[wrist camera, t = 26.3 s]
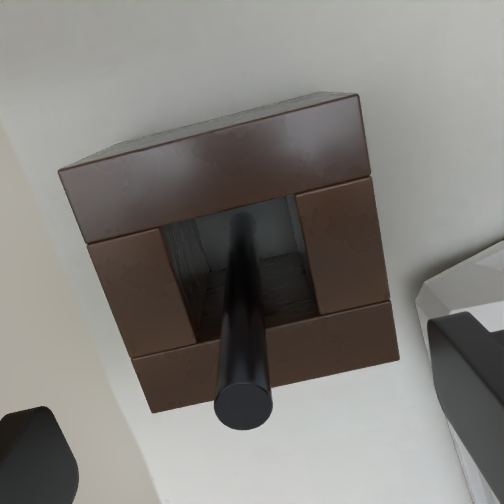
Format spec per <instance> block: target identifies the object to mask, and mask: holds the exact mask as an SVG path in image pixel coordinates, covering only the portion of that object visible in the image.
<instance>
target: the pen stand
mask: <svg viewBox="0 0 504 504" xmlns="http://www.w3.org/2000/svg"><path fill="white" fill-rule="evenodd" d="M370 174H371V168H370V162H369V155H368V149H367V142H366V136H365V129H364V123H363V116H362V110H361V103H360V97H359V95H358V94H355V93H335V92H317V93H313V94H310V95H306V96H302V97H298V98H294V99H290V100H286V101H282V102H278V103H274V104H271V105H267V106H263V107H259V108H255V109H251V110H247V111H243V112H239V113H235V114H232V115H228V116H224V117H220V118H216V119H212V120H208V121H204V122H200V123H196V124H193V125H189V126H185V127H181V128H177V129H173V130H169V131H165V132H161V133H158V134H154V135H150V136H146V137H142V138H138V139H134V140H130V141H126V142H122V143H119V144H115V145H113V146H110V147H108V148H106V149H104V150H101V151H99V152H97V153H95V154H92V155H90V156H88V157H86V158H83V159H81V160H79V161H77V162H74V163H72V164H70V165H68V166H65V167H63V168H61V169H59V170H58V175H59V177H60V180H61V182H62V185H63V187H64V190H65V192H66V195H67V198H68V200H69V203H70V205H71V208H72V210H73V213H74V215H75V218H76V221H77V223H78V226H79V228H80V231H81V233H82V236H83V238H84V241H85V243H86V244H87V249H88V252H89V254H90V257H91V259H92V262H93V265H94V267H95V270H96V272H97V275H98V277H99V280H100V282H101V285H102V288H103V290H104V293H105V295H106V298H107V300H108V303H109V305H110V308H111V311H112V313H113V316H114V318H115V321H116V323H117V326H118V328H119V331H120V334H121V336H122V339H123V341H124V344H125V346H126V349H127V351H128V354H129V357H130V358H131V361H132V364H133V367H134V369H135V372H136V374H137V377H138V379H139V382H140V384H141V387H142V390H143V392H144V395H145V397H146V400H147V402H148V405H149V407H150V410H151V412H152V413H158V412H162V411H167V410H171V409H176V408H181V407H185V406H190V405H195V404H199V403H204V402H208V401H213V400H214V398H215V387H216V376H217V365H218V354H219V343H220V332H221V321H222V310H223V299H224V288H225V277H226V269H222V270H217V271H213V272H209V267H208V264H207V261H206V257H205V254H204V251H203V247H202V244H201V240H200V237H199V234H198V230H197V227H196V224H195V220H194V218H197V217H201V216H205V215H209V214H213V213H217V212H221V211H226V210H230V209H234V208H238V207H242V206H246V205H250V204H254V203H258V202H263V201H267V200H271V199H275V198H279V197H283V196H286V199H287V204H288V208H289V213H290V217H291V222H292V226H293V231H294V235H295V240H296V244H297V249H298V252H294V253H290V254H285V255H281V256H277V257H273V258H268V259H264V260H260V261H259V264H260V275H261V285H262V296H263V306H264V317H265V328H266V338H267V349H268V359H269V370H270V380H271V388H273V387H278V386H282V385H287V384H292V383H296V382H301V381H306V380H310V379H315V378H319V377H324V376H329V375H333V374H338V373H342V372H347V371H352V370H356V369H361V368H366V367H370V366H375V365H379V364H384V363H389V362H393V361H398V360H399V359H400V356H399V349H398V343H397V336H396V330H395V323H394V317H393V310H392V304H391V300H390V292H389V285H388V279H387V272H386V266H385V259H384V253H383V246H382V240H381V233H380V227H379V220H378V214H377V207H376V201H375V194H374V188H373V181H372V177H371V176H370Z"/></svg>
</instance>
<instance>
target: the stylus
mask: <svg viewBox="0 0 504 504" xmlns="http://www.w3.org/2000/svg"><path fill="white" fill-rule="evenodd" d="M272 408H273V401H272V391H271V380H270V370H269V359H268V349H267V338H266V328H265V317H264V306H263V296H262V285H261V275H260V264H259V254H258V243H257V233H256V223H255V220H254V219H253V217H252V216H250V215H249V214H246V213H240V214H237V215H236V216H234V217H233V219H232V220H231V223H230V233H229V244H228V255H227V266H226V277H225V288H224V299H223V310H222V321H221V332H220V343H219V354H218V365H217V376H216V387H215V398H214V410H215V413H216V415H217V417H218V419H219V420H220V421H221V422H222V423H223V424H224V425H226V426H228V427H230V428H232V429H236V430H250V429H254V428H256V427H259V426H260V425H262V424H263V423H264V422H265V421H266V420H267V419H268V418H269V416H270V414H271V412H272Z"/></svg>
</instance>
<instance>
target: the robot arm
mask: <svg viewBox="0 0 504 504" xmlns="http://www.w3.org/2000/svg"><path fill="white" fill-rule="evenodd" d="M427 334H428V341H429V349H430V356H431V364H432V371H433V379H434V385H435V390H436V394H437V397H438V400H439V403H440V405H441V407H442V410H443V412H444V414H445V415H446V417H447V419H448V420H449V422H450V424H451V425H452V427H453V428H454V430H455V432H456V433H457V435H458V436H459V438H460V440H461V441H462V443H463V445H464V446H465V448H466V449H467V451H468V453H469V454H470V456H471V457H472V459H473V461H474V462H475V464H476V465H477V467H478V469H479V470H480V472H481V473H482V475H483V477H484V478H485V480H486V481H487V483H488V485H489V486H490V488H491V490H492V491H493V493H494V494H495V496H496V498H497V499H498V501H499V502H500V504H504V330H499V331H495V332H489V331H488V330H487V329H486V328H485V327H484V326H483V325H482V324H481V323H480V322H479V321H478V320H477V319H476V318H475V317H474V316H473V315H472V314H471V313H470V312H468V311H464V312H460V313H455V314H451V315H446V316H442V317H437V318H433V319H429V320H428V322H427ZM78 482H79V473H78V466H77V463H76V460H75V458H74V456H73V454H72V451H71V449H70V447H69V445H68V443H67V441H66V439H65V437H64V435H63V433H62V431H61V429H60V427H59V425H58V423H57V421H56V419H55V417H54V415H53V413H52V411H51V410H50V409H49V408H47V407H45V406H40V407H36V408H32V409H28V410H23V411H18V412H14V413H9V414H7V415H5V416H4V417H3V418H2V419H1V421H0V504H72V502H73V500H74V498H75V495H76V492H77V488H78Z"/></svg>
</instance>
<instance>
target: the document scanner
mask: <svg viewBox="0 0 504 504" xmlns="http://www.w3.org/2000/svg"><path fill="white" fill-rule="evenodd" d="M415 304H416V308H417V312H418V316H419V320H420V324H421V328H422V332H423V336H424V340H425V344H426V348H427V352H428V356H429V360H430V364H431V356H430V349H429V341H428V334H427V322H428V320H429V319H433V318H437V317H442V316H446V315H451V314H455V313H460V312H464V311H468V312H470V313H471V314H472V315H473V316H474V317H475V318H476V319H477V320H478V321H479V322H480V323H481V324H482V325H483V326H484V327H485V328H486V329H487V330H488V331H489V332H495V331H499V330H504V240H502V241H501V242H499V243H497V244H495V245H493V246H491V247H489V248H487V249H485V250H483V251H481V252H480V253H478V254H476V255H474V256H472V257H470V258H468V259H466V260H464V261H462V262H461V263H459V264H457V265H455V266H453V267H451V268H449V269H447V270H445V271H443V272H441V273H440V274H438V275H436V276H434V277H432V278H430V279H428V280H426V281H424V283H423V285H422V287H421V289H420V291H419V294H418V296H417V298H416V300H415ZM431 368H432V364H431ZM432 372H433V371H432ZM445 416H446V415H445ZM446 419H447V417H446ZM447 422H448V425H449V428H450V431H451V435H452V438H453V441H454V444H455V447H456V450H457V453H458V457H459V460H460V463H461V466H462V469H463V472H464V475H465V478H466V482H467V485H468V488H469V491H470V494H471V497H472V500H473V503H474V504H500V502H499V501H498V499H497V498H496V496H495V494H494V493H493V491H492V490H491V488H490V486H489V485H488V483H487V481H486V480H485V478H484V477H483V475H482V473H481V472H480V470H479V469H478V467H477V465H476V464H475V462H474V461H473V459H472V457H471V456H470V454H469V453H468V451H467V449H466V448H465V446H464V445H463V443H462V441H461V440H460V438H459V436H458V435H457V433H456V432H455V430H454V428H453V427H452V425H451V424H450V422H449V420H448V419H447Z"/></svg>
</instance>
